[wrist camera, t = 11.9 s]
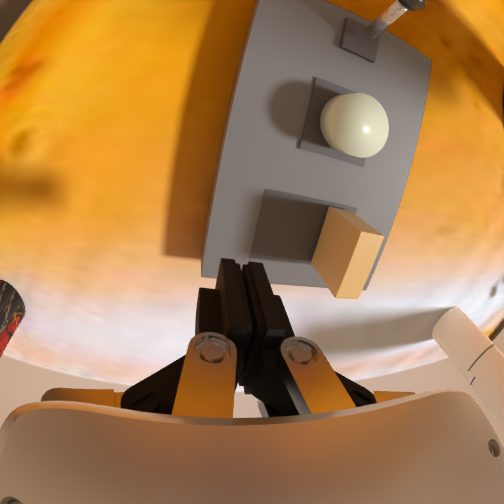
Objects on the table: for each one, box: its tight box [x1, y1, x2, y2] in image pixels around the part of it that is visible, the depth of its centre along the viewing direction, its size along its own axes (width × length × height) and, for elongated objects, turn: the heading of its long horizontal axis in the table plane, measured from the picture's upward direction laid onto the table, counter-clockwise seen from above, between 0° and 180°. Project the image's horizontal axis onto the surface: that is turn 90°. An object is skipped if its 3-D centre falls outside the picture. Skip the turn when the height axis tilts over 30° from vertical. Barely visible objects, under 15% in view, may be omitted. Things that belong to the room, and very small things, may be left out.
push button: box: [320, 93, 389, 158], centre depth 16 cm, size 4×4×2 cm
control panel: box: [201, 0, 432, 290], centre depth 20 cm, size 24×16×4 cm, turn 168°
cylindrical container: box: [432, 307, 504, 433], centre depth 27 cm, size 7×7×25 cm
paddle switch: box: [311, 206, 384, 299], centre depth 19 cm, size 5×2×5 cm, turn 168°
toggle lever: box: [363, 0, 426, 40], centre depth 10 cm, size 2×2×6 cm
